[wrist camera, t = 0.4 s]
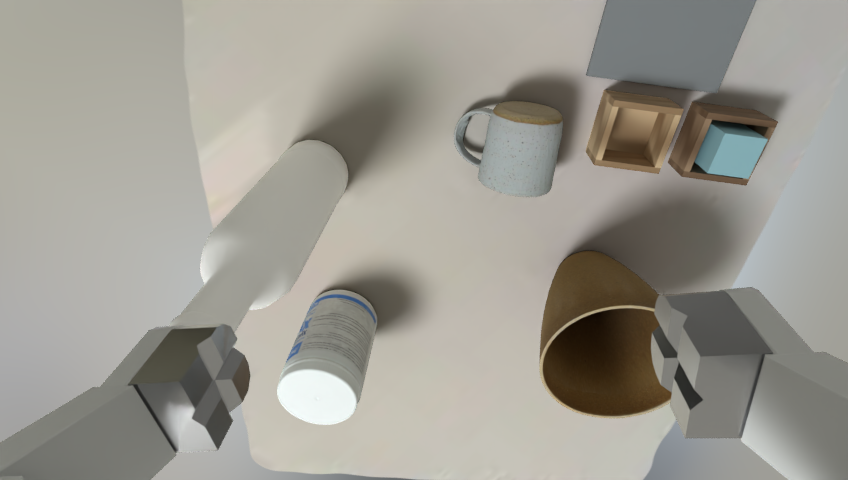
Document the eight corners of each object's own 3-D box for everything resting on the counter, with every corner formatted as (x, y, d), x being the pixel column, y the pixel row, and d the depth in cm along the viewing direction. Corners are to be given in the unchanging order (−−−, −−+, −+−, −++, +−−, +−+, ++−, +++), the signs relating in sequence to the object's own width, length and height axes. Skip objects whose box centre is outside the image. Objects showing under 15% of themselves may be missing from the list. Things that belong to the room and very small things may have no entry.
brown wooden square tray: (690, 100, 49) (708, 112, 45) (755, 109, 49) (778, 121, 45) (666, 161, 52) (681, 176, 49) (727, 169, 52) (746, 185, 49)
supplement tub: (306, 285, 64) (267, 364, 52) (376, 287, 64) (354, 369, 51) (315, 339, 69) (282, 424, 57) (380, 342, 69) (361, 429, 56)
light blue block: (700, 116, 49) (725, 133, 44) (739, 121, 49) (768, 139, 44) (685, 153, 51) (707, 173, 46) (722, 158, 51) (748, 178, 46)
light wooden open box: (603, 89, 49) (614, 100, 45) (667, 97, 49) (683, 109, 45) (585, 150, 52) (594, 164, 49) (645, 158, 52) (658, 173, 49)
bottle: (317, 124, 53) (176, 283, 27) (363, 178, 56) (275, 368, 30) (268, 163, 56) (98, 340, 30) (314, 213, 59) (194, 413, 33)
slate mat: (629, -80, 42) (630, -80, 41) (778, -60, 41) (781, -60, 41) (586, 74, 48) (586, 75, 48) (714, 92, 48) (716, 93, 48)
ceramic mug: (560, 101, 50) (573, 123, 43) (545, 174, 54) (554, 204, 47) (459, 91, 50) (456, 111, 44) (451, 164, 54) (447, 193, 48)
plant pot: (656, 220, 56) (717, 306, 42) (636, 320, 63) (683, 420, 49) (525, 223, 57) (544, 307, 43) (521, 320, 65) (536, 418, 51)
